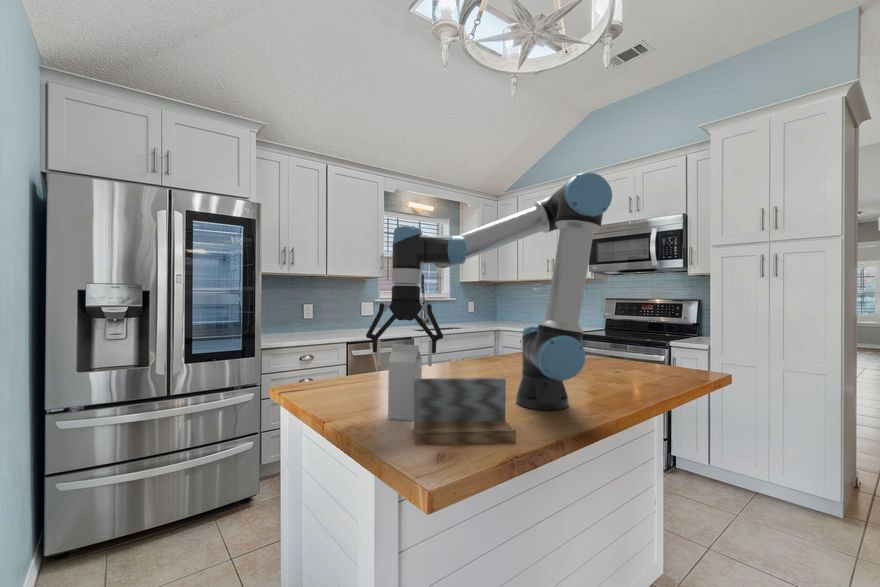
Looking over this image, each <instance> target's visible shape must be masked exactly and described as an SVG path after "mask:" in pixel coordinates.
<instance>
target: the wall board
mask: <svg viewBox="0 0 880 587" xmlns="http://www.w3.org/2000/svg"><path fill="white" fill-rule="evenodd" d="M506 385H507V382H506V378H504V377H461V378H460V377H457V378H456V377H455V378H453V377H451V378H447V377H446V378H443V377H440V378H421V379H414V421H413V432H414V441H415V446H427V445H428V446H429V445H431V446H432V445H433V446H435V445H462V444H463V445H464V444H465V445H466V444H467V445H469V444H470V445H471V444H472V445H473V444H499V443H501V444H502V443H503V444H504V443H506V444H507V443H517V441H516V440H517V437H516V436H517V435H516V434H517V431H516V429H515V428H512V427H511V425H510V424H509V423H508V422H507V421H506V393H507V392H506V390H507V389H506V388H507V387H506Z"/></svg>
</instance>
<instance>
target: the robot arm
mask: <svg viewBox="0 0 880 587" xmlns="http://www.w3.org/2000/svg"><path fill="white" fill-rule="evenodd" d="M612 200H613V191H612V188H611V185H610V183H609V182H608V181H607V179H605V177H603V176H601V175H600V174H598V173H595V172H590V171H588V172H586V171H585V172H581V173H579V174H577V175H574V176H571V178H570V179H568V181H566V183H565V184H563V185H562V186H561V187H560V188H559V189H557V190H556V191H555V192H554V193H552V194H551V195H549V196H547V197H546V198H544V199H541V200H539V201H536V202H535V203H534V204H533V206H532V207H530V208H528V209H525V210H522V211H520V212H517V213H515V214H511V215H509V216H506V217H504V218H501V219H499V220H495V221H493V222H490V223H488V224H485V225H483V226H480V227H478V228H474V229H472V230H469V231H466V232H464V233H462V234H459V235H453V234H452V235H428V234H427V235H426V234H423V232H422V228H420V227H419V226H411V225H401V226H397V227H395V228H394V229H393V230H394V231H393V237H392V238H393V239H392V264H391V265H392V266H391V267H392V269H391V283H392V284H393V285H392V287H391V300H390V301H391V302H390V304H388V303H384V302H381V303H379V305H378V306H379V307H378V311H377V314H376V315H375V318H374V319H373V322H371V325H370V327H369V329H368V331H367V332H366V334H365V337H366V338H367V339H370V340H372V353H374V354H376V366H377V367H380V366H381V339H379V338H380V337H381V336H382V334H384V332H385V331H387V329H388V328H389V327H390V326H391V325H392V323H394V321H395V320H398V321H409V322H410V321H413V320H415V321H416V322H417V323H418V325H419V326H420V327H421V328H422V329H423V330H424V332H425V333H426V334H427V336H428V338H430V340H428V349H427V350H428V352H427V353H428V354H427V366H428V367H432V366H433V364H432V363H433V362H432V360H433V354H436V353H437V342H438V341H440V340H442V339H443V338H444V335H443V332H442V330H441V328H440V326H439V324H438V322H437V320H436V318H435V316H434V313H433V308H432V304H430V303H427V304H421V287H420V286H419V285H420V284H421V273H422V272H421V271H422V270H421V268H422V267H421V266H422V264H433V265H435V266H436V267H437V268H441V269H447V268H449V267H451V266H452V265H453V266H455V265H463V264H464V263H466V260H469V259H470V258H473V257H476V256H478V255H482V254H484V253H487V252H489V251H493V250H494V249H497V248H500V247H504V246H506V245H508V244H511V243H513V242H516V241H518V240H522V239H525V238H527V237H529V236H530V237H531V236H533V235H535V234H538V233H541V232H543V233H545V234H547V233H550V232H553V231H555V230H558V231H559V234H558V241H557V247H556V252H555V258H554V264H553V271H552V276H551V282H550V288H549V296H548V301H547V306H546V311H545V312H546V313H545V318H544V319H543V320H541V321H540V322H539V323H538V326H537V325H536V326H526V327H524V328H523V330H522V336H521V340H522V352H521V353H522V354H521V355H522V358H521V360H522V363H521V364H522V366H521V367H522V368H521V369H522V371H521V372H522V375H521V380H520V383H519V386H518V388H517V392H516V395H515V398H516V399H515V402H516V404H518V405H519V406H521V407H525V408H528V409H533V410H543V411H556V410H557V411H558V410H563V409H566V408H568V407H569V396H568V392H567V389H566V386H565V382H564V381H567V380H571V379H572V378H574V377H576V376H578V374H580V373H581V372H582V370H583V369H584V366H585V363H586V352H585V351H586V350H585V349H584V347H583V345H582V343H583V337H584V329H583V328H582V327H581V326H580V324H579V323H580V318H581V312H582V311H581V310H582V305H583V300H584V299H583V297H584V294H585V293H584V292H585V288H586V281H587V276H588V268H589V264H590V263H589V262H590V257H591V250H592V244H593V239H594V235H595V234H596V233H597V232H599V231H600V230H601V227H602V221H603V215H604V213H605V212H606V211H607V210H608V209H609V207H610V206H611V203H612ZM388 309H389V310H390V311H391V312H392V315H391V316H390V317H389V318H388V320H387V321H386V322H384V324H383V325H382V326H381V328H380V329H378V330H377V331H376V333H375V334H373V333H374V331H375V329H376V327H377V325H378V324H379V321H381V320H380V319H381V318H382V316H383V315H384V312H385V313H386V312H387V310H388ZM421 310H423V311H424V312H425V313H427V316H428V318H429V320H430V323H431V325H432V327H433V329H434V330H435V333H436V334H434V333H433V332H432V331H431V330H430V329H429V327H428V326H427V325H426V323H425V322H424V321H423V319H422V318H421V317H420V315H419V313H420V312H421Z"/></svg>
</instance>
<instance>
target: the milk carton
mask: <svg viewBox="0 0 880 587" xmlns="http://www.w3.org/2000/svg"><path fill="white" fill-rule="evenodd" d="M389 356H390V357H389V359H388V375H387V376H388V380H387V381H388V389H387V391H388V392H387V393H388V394H387V402H388V404H387V409H388V410H387V419H388V420H398V421H399V420H401V421H402V420H403V421H413V422H414V379H423V378H422V376H423V375H422V371H423V370H422V368H423V367H422V365H423V364H422V363H423V362H422V360H423V359H422V354H421V351H420V345H419V344H396V343H395V344H394V343H393V344H392V349H391V353H390V355H389Z"/></svg>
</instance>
